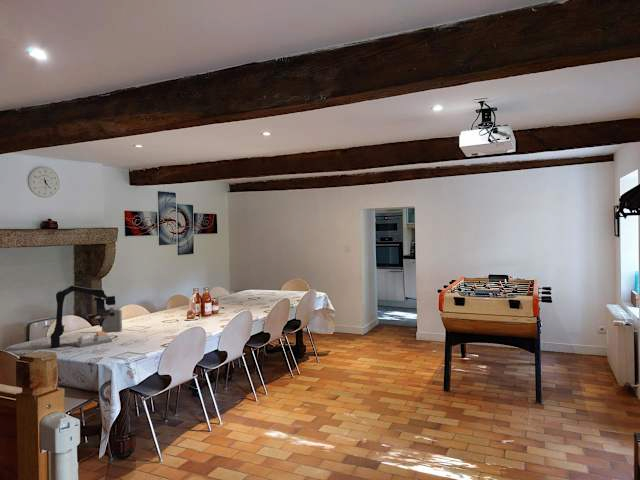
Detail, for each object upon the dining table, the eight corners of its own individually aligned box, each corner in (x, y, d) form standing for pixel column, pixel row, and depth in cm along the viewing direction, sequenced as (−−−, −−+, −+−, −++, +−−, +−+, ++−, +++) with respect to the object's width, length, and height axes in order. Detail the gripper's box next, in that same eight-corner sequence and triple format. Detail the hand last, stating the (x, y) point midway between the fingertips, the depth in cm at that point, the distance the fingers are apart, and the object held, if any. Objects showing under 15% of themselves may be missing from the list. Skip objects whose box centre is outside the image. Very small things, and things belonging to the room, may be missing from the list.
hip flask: (101, 332, 365) (100, 307, 365) (103, 331, 369) (102, 307, 369) (121, 331, 366) (120, 307, 366) (123, 330, 370) (122, 306, 370)
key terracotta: (96, 336, 332) (96, 332, 332) (103, 335, 336) (103, 331, 336) (98, 337, 329) (98, 333, 329) (105, 336, 332) (105, 332, 332)
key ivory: (80, 340, 324) (80, 336, 324) (87, 339, 328) (87, 335, 328) (82, 341, 321) (82, 337, 321) (90, 340, 324) (90, 336, 324)
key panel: (74, 344, 324) (74, 337, 324) (105, 339, 340) (105, 332, 340) (80, 347, 316) (80, 340, 316) (112, 341, 332) (111, 335, 332)
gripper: (91, 308, 319) (91, 330, 320) (117, 305, 333) (118, 326, 333) (85, 307, 327) (85, 328, 327) (111, 303, 341) (111, 324, 341)
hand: (100, 326), depth 332 cm, fingers closed
